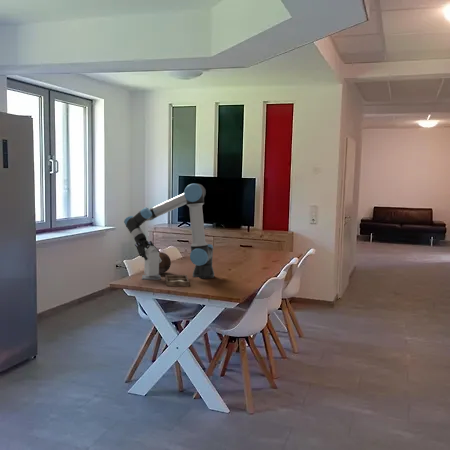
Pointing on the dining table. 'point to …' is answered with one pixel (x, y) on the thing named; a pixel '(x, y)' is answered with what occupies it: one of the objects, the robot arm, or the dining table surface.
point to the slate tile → (151, 277)
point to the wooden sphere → (164, 262)
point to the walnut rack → (170, 281)
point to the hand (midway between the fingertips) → (155, 262)
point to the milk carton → (152, 261)
